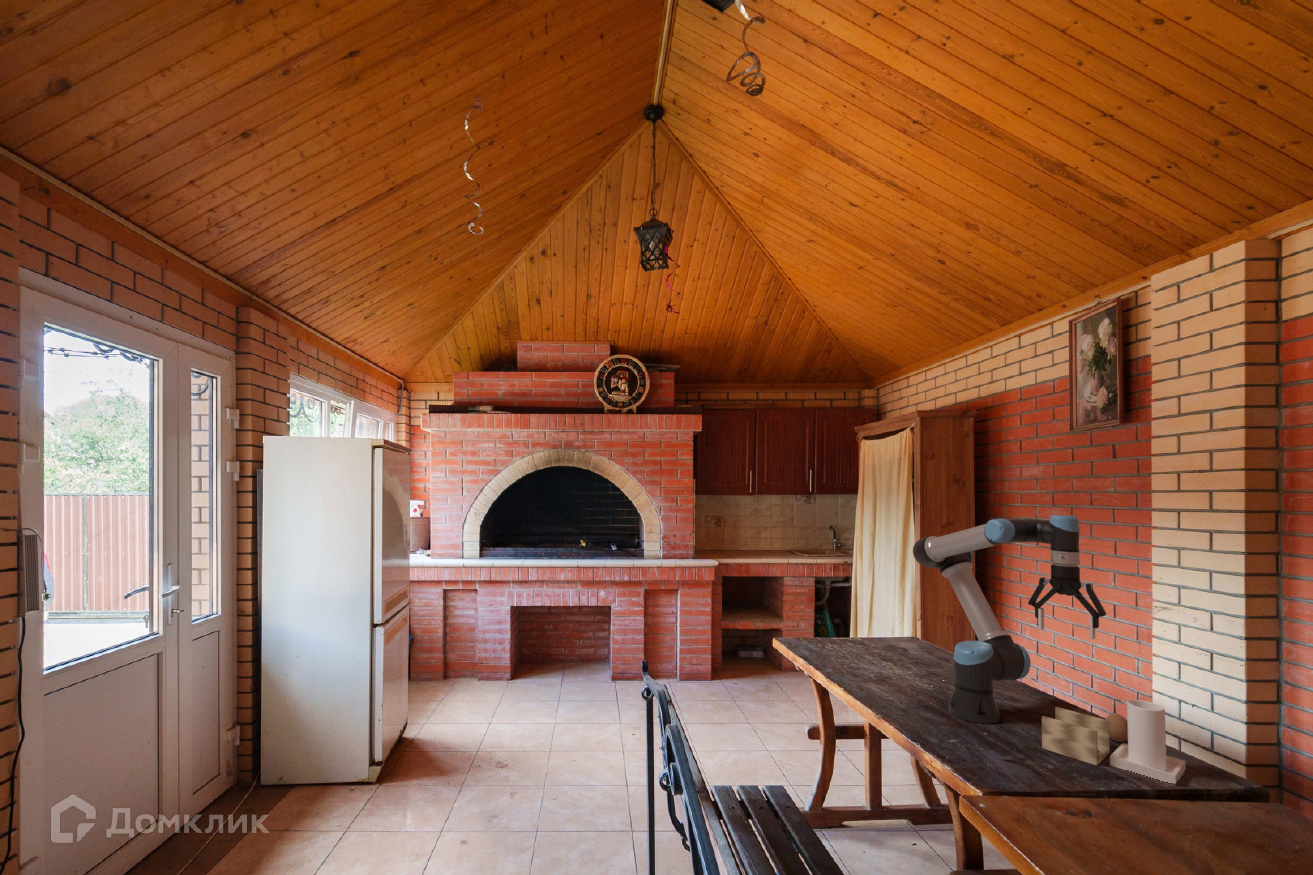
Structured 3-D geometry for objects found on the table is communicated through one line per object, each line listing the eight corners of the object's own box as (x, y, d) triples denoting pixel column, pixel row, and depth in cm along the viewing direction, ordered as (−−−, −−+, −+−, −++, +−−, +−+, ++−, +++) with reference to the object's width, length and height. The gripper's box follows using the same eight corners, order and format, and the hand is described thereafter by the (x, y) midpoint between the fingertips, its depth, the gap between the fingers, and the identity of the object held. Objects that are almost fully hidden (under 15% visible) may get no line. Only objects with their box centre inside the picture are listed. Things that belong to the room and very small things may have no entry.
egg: (1125, 747, 179) (1124, 719, 180) (1100, 739, 185) (1099, 711, 185) (1134, 743, 182) (1133, 715, 183) (1109, 735, 188) (1109, 708, 189)
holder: (1042, 747, 177) (1041, 716, 178) (1056, 736, 186) (1056, 706, 186) (1096, 765, 167) (1096, 732, 167) (1109, 752, 175) (1109, 720, 176)
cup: (1173, 772, 161) (1171, 711, 163) (1139, 768, 163) (1137, 708, 164) (1155, 759, 170) (1153, 701, 171) (1122, 755, 171) (1120, 698, 172)
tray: (1110, 765, 167) (1109, 755, 167) (1122, 751, 176) (1122, 742, 176) (1175, 785, 156) (1175, 775, 157) (1185, 770, 165) (1185, 760, 166)
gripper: (1016, 560, 195) (1017, 626, 193) (1110, 571, 176) (1112, 644, 174) (1025, 559, 200) (1025, 623, 198) (1117, 569, 181) (1118, 640, 179)
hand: (1066, 633), depth 186 cm, fingers open, 13 cm apart
